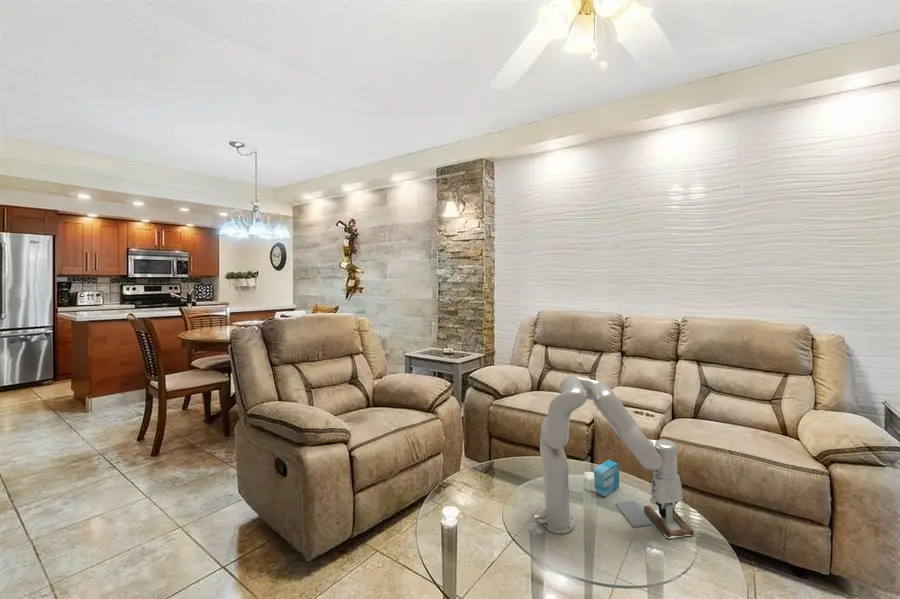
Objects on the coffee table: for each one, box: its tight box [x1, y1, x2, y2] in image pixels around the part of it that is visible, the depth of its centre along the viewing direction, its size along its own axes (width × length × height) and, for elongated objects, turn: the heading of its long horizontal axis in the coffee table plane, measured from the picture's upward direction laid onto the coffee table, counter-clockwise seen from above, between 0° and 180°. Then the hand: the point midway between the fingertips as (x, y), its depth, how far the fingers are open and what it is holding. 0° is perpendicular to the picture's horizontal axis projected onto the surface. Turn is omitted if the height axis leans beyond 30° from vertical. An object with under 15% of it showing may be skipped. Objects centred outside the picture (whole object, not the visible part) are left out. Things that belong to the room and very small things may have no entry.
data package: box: [593, 459, 620, 498], centre depth 181 cm, size 12×4×12 cm, turn 124°
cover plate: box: [653, 503, 683, 531], centre depth 159 cm, size 6×12×8 cm, turn 3°
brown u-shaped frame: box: [643, 505, 694, 537], centre depth 159 cm, size 10×16×2 cm, turn 4°
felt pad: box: [615, 500, 654, 529], centre depth 165 cm, size 8×14×1 cm, turn 4°
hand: (666, 515), depth 159 cm, fingers closed on cover plate, 2 cm apart
